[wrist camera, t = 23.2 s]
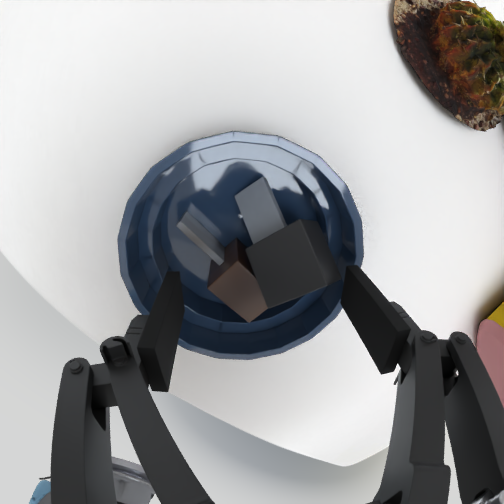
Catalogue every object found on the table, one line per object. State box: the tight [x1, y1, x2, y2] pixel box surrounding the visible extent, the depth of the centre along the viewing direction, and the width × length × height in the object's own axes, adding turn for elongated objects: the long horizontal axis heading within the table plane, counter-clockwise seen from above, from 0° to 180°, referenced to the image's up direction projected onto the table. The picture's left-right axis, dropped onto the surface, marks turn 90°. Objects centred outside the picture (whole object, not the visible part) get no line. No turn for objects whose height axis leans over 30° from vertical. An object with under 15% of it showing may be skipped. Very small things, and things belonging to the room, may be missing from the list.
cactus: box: [393, 0, 504, 131], centre depth 11 cm, size 17×16×10 cm
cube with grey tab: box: [235, 177, 341, 308], centre depth 18 cm, size 8×3×4 cm
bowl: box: [118, 131, 364, 360], centre depth 19 cm, size 15×15×6 cm
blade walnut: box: [176, 211, 268, 323], centre depth 19 cm, size 8×3×4 cm, turn 43°
